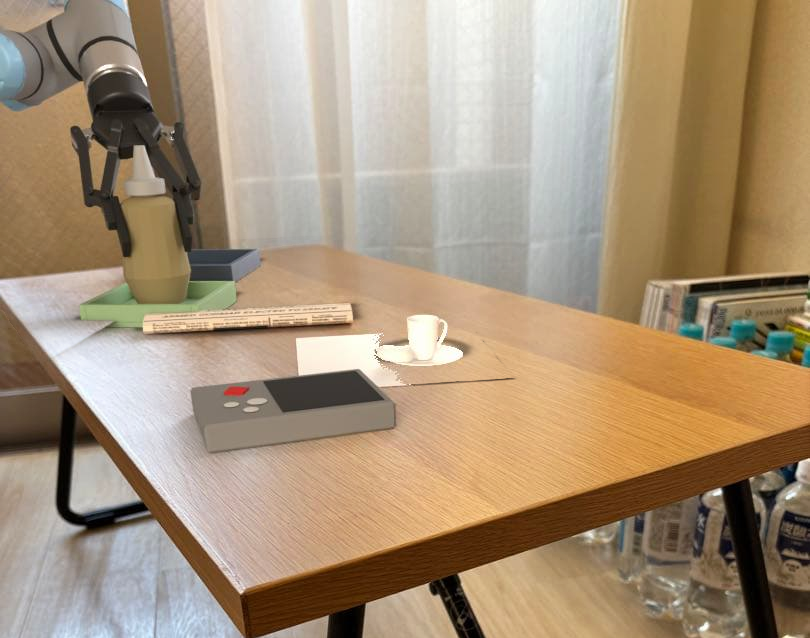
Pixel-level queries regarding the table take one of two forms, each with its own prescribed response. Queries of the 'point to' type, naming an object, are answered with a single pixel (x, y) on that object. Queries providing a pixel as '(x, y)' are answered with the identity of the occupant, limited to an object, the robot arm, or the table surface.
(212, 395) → the electronic device
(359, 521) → the table surface
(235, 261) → the blue tray
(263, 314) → the newspaper
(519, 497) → the table surface
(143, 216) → the squeeze bottle
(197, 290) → the green tray
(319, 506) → the table surface
